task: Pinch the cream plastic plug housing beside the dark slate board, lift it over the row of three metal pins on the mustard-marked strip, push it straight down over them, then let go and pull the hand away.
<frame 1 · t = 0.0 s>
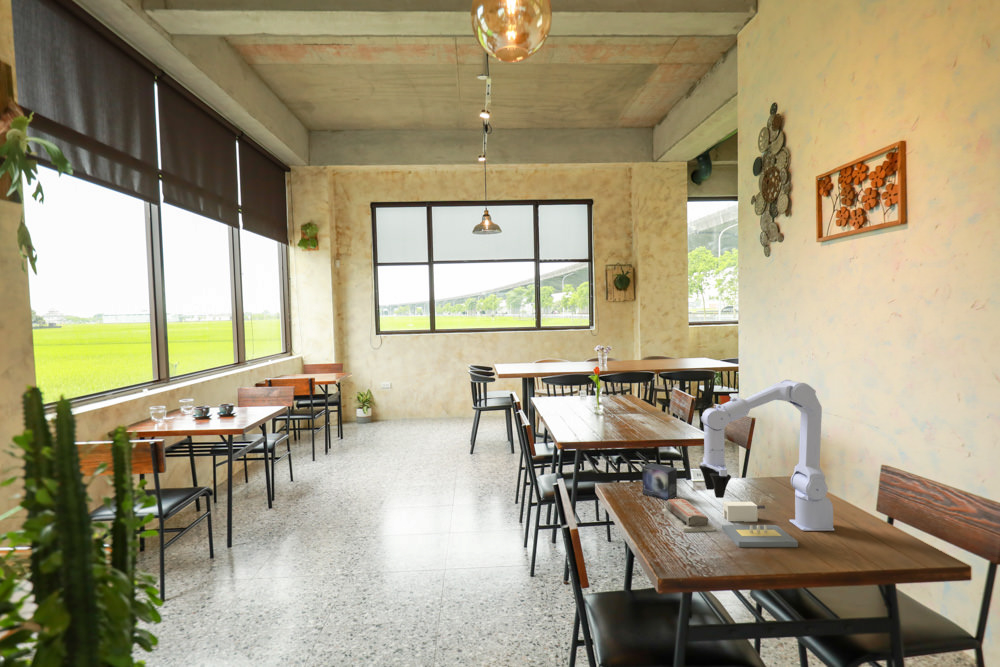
hand: (714, 493, 161), 10 cm above the table, tool pointing down, fingers open, 7 cm apart
packaged product: (686, 522, 167), on the table
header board: (758, 538, 152), on the table
plug housing: (740, 519, 167), on the table
small box: (659, 496, 191), on the table
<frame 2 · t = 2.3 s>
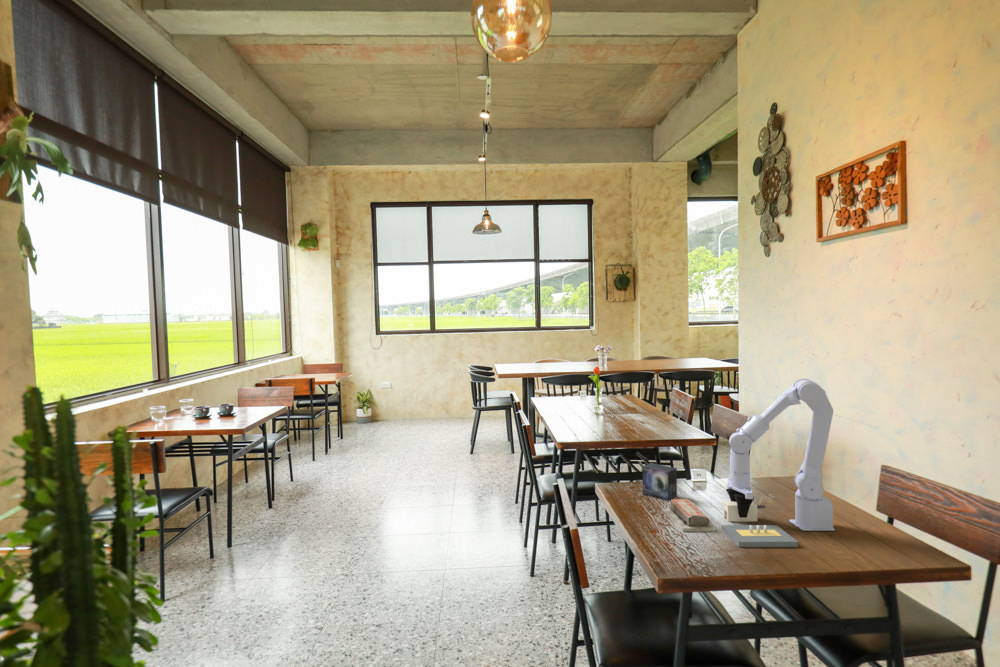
hand: (740, 514, 167), 1 cm above the table, tool pointing down, fingers closed on plug housing, 4 cm apart
plug housing: (740, 519, 167), on the table, touching gripper
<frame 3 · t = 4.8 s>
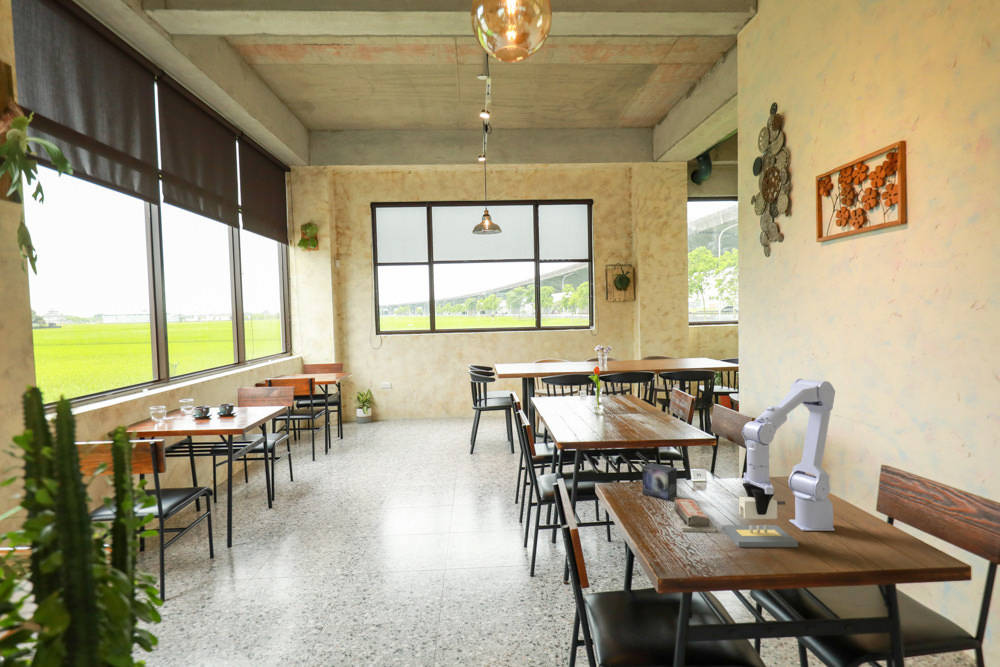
hand: (758, 511, 152), 8 cm above the table, tool pointing down, fingers closed on plug housing, 4 cm apart
plug housing: (757, 516, 152), point 6 cm above the table, touching gripper
when the fingers open (3 cm above the table, at t = 7.0 s): plug housing stays where it is, resting on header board.
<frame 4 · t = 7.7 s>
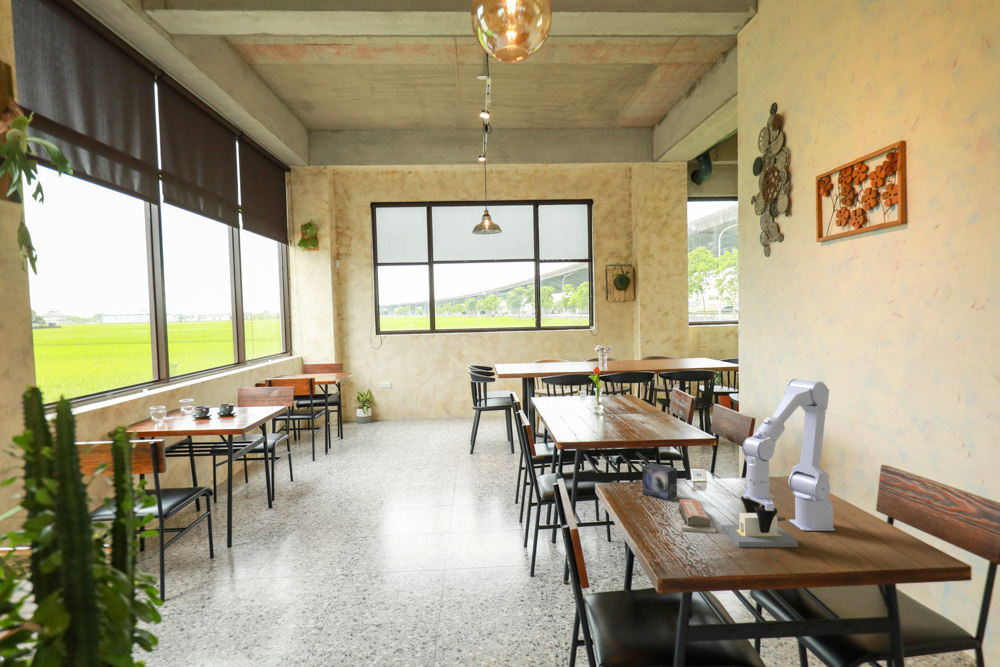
hand: (758, 527, 152), 3 cm above the table, tool pointing down, fingers open, 7 cm apart
plug housing: (758, 532, 152), point 2 cm above the table, touching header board
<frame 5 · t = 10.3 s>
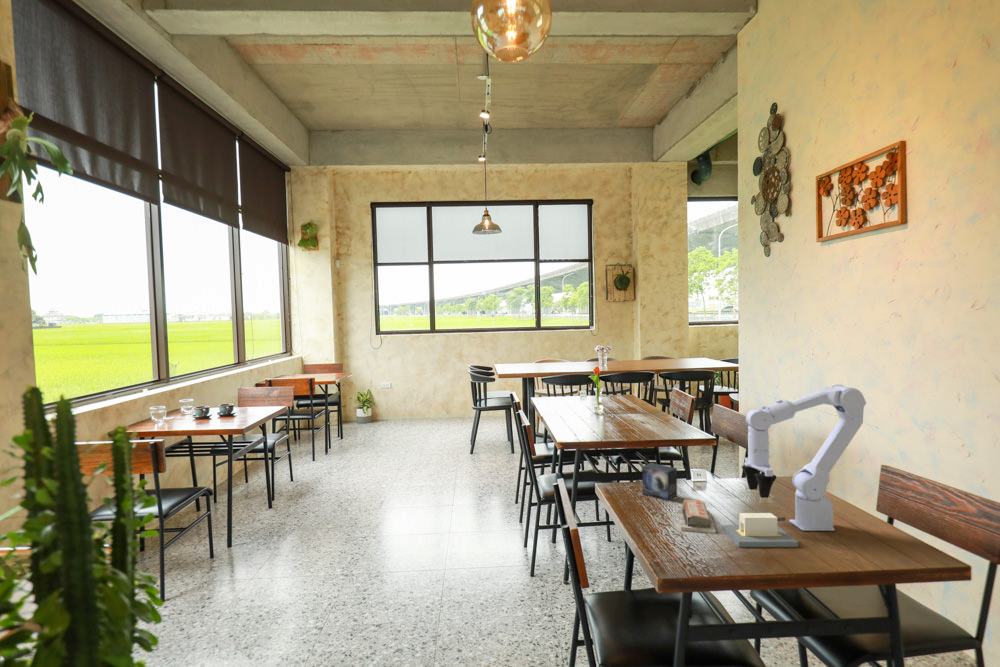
hand: (758, 493, 163), 9 cm above the table, tool pointing down, fingers open, 7 cm apart
at the end: plug housing 0.1 cm off-centre on the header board, point 1.6 cm above the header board's base; plug housing tilted 0°; the gripper is holding nothing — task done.
